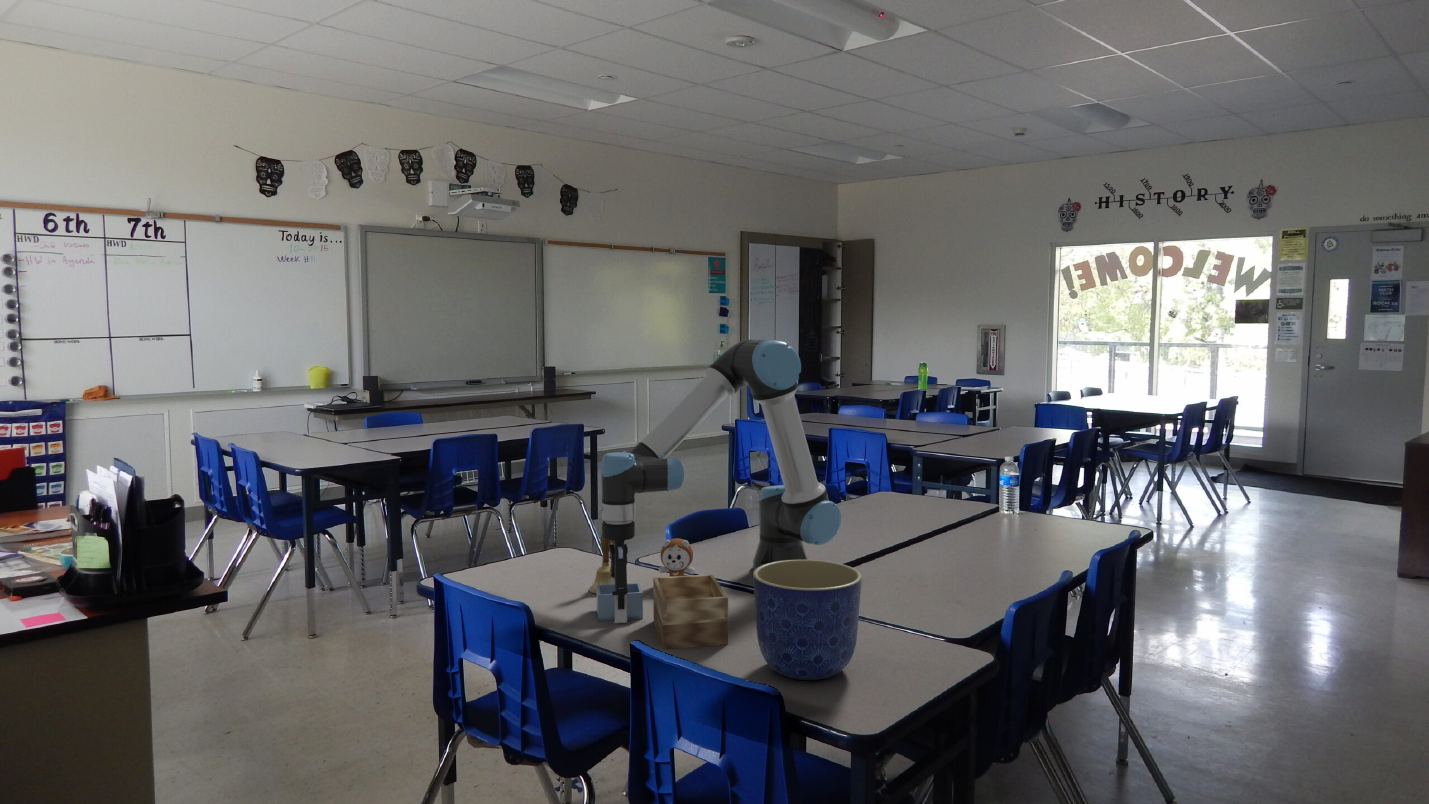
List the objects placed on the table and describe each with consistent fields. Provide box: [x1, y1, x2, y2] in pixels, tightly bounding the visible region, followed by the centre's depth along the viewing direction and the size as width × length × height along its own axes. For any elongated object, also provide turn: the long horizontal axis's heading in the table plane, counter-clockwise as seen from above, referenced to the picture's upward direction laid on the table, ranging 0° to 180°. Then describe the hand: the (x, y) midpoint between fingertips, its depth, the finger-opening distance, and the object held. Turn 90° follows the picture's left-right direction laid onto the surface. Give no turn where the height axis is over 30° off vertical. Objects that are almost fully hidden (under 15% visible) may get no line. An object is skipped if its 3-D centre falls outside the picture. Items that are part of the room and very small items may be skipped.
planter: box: [752, 559, 863, 681], centre depth 171 cm, size 21×21×19 cm
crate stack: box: [652, 574, 729, 650], centre depth 192 cm, size 14×18×10 cm
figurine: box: [658, 537, 696, 577], centre depth 227 cm, size 9×9×12 cm
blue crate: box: [596, 582, 644, 622], centre depth 204 cm, size 10×8×6 cm
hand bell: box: [588, 534, 613, 595], centre depth 223 cm, size 8×8×16 cm
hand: (618, 613), depth 205 cm, fingers open, 12 cm apart
